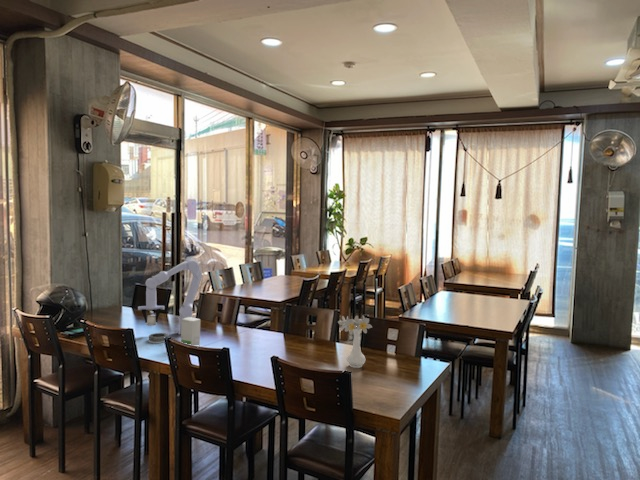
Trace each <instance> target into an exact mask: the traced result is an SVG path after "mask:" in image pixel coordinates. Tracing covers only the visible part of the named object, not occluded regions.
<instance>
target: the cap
mask: <svg viewBox="0 0 640 480" xmlns="http://www.w3.org/2000/svg"><path fill="white" fill-rule="evenodd" d="M156 325H157V322H156V314H151V315H150V314H148V315H147V323H146V326H149V327H152V326H153V327H154V326H156Z"/></svg>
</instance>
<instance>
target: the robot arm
mask: <svg viewBox="0 0 640 480" xmlns="http://www.w3.org/2000/svg"><path fill="white" fill-rule="evenodd" d="M181 271H190V273H191V274H192V278H191V281H190V283H189V287H188V290H187V293H186V296H185V300H184V301H183V303H182V305H181V306H180V307H179V309H178V312H179V315H180V316H179V319H178V321H179V323H178V325H179V327H178V335H181V325H182V319H183V318H187V317H192V315H193V308H194V307H193V305H194V303H195V302H194V301H195V298H196V296H197V292H198V289H199V285H200V283H201V280H202V278H203V273H202V270H201V265H200V264H199V262H198V261H196V260H195V259H193V258H189V259H187V260H185V261H183V262H181V263H179V264H177V265H175V266H174V267H172V268H171V269H168V270H167V271H165V270H162V271H159V273H157V274H155V275H152V276H151V277H149V278H147V279H146V280H145V283H144V285H145V286H146V289H145V290H146V291H145V305H141V306H140V305H139V306H137V310H138V311H141V314H142V316H143V318H144V323H146V324H147V316H148V311H151V310H152V311H153V310H155V315H156V323H158V319H159V316H160V312H161V311H162V310H165V308H166V307H165V305H158V304H157V300H158V299H157V287H158V286H159V285H161V284H163V283H165V282H166V281H168V280H169V279H170V277H172V276H173V275H175V274H177V273H180V272H181Z"/></svg>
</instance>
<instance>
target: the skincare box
mask: <svg viewBox="0 0 640 480" xmlns="http://www.w3.org/2000/svg"><path fill="white" fill-rule="evenodd" d="M200 340H201V319H200V318H196V317H192V316H191V317H187V318H183V319H182V325H181V334H180V343H181V342H183V343H187V344H191V345H199V347H200V344H201V343H200Z"/></svg>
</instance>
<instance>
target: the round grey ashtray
mask: <svg viewBox="0 0 640 480" xmlns="http://www.w3.org/2000/svg"><path fill="white" fill-rule="evenodd" d="M164 337H168V338H169V334H168V333H164V332H156V333H151V334H149V336H148V340H147V342H148V343H150V344H163V343H165V342H164Z"/></svg>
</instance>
